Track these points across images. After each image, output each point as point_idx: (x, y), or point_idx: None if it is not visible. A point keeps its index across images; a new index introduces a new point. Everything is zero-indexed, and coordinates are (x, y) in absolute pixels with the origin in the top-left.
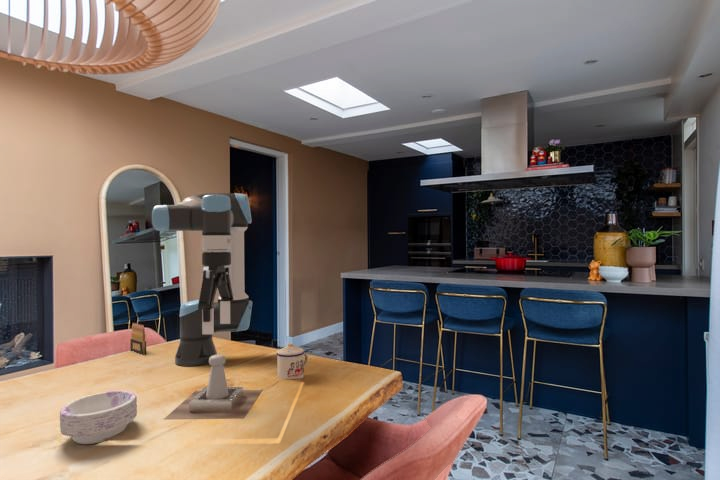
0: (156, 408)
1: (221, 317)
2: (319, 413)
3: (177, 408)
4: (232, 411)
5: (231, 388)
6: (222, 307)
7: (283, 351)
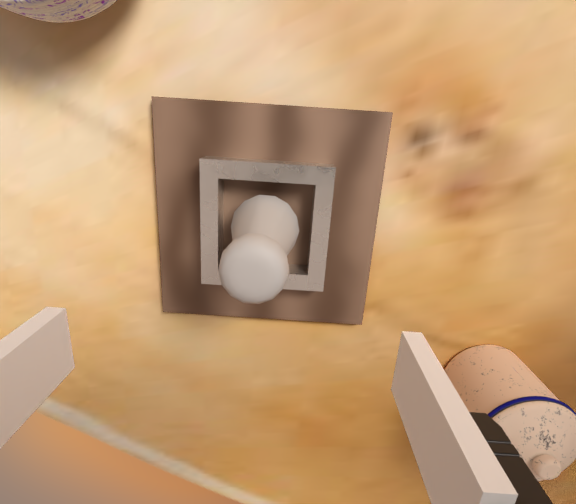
0: (271, 17)
1: (416, 370)
2: (214, 447)
3: (233, 108)
4: None
5: (312, 259)
6: (446, 449)
7: (507, 431)
